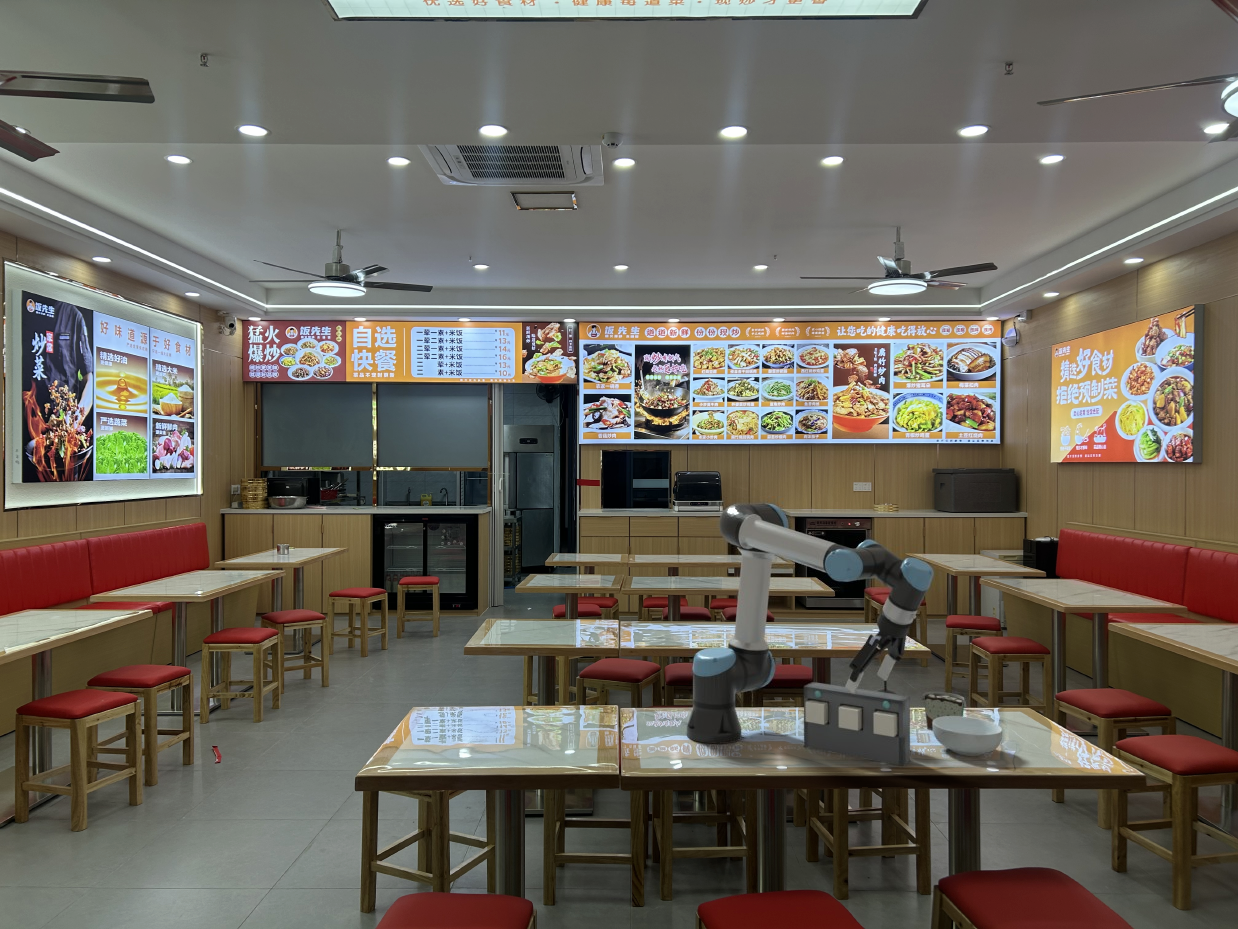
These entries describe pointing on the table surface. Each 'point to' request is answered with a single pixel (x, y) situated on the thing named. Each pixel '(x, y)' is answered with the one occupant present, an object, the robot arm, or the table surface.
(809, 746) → the keypad
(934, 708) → the mint chip dessert
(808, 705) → the key left
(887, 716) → the key right
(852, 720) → the key middle
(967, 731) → the cereal bowl
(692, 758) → the table surface
